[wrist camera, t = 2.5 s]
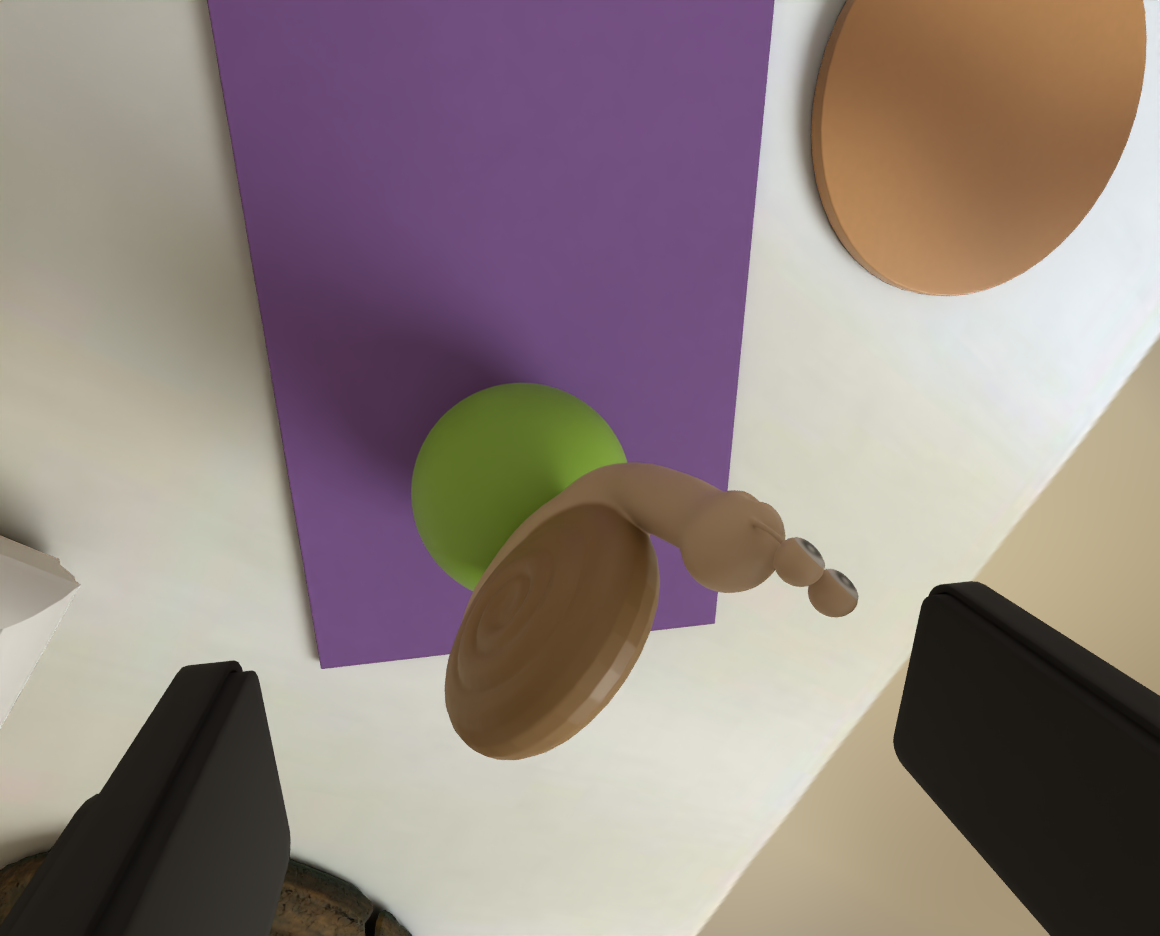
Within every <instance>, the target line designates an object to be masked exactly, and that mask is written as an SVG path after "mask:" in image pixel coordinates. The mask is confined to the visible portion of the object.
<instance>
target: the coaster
mask: <svg viewBox="0 0 1160 936" xmlns="http://www.w3.org/2000/svg"><path fill="white" fill-rule="evenodd" d="M1146 38H1147V37H1146V21H1145V9H1144V4H1143V0H847V1H846V3H845V5H844V6H843V8H842V10H841V12H840V14H839V16H838V18H837V20H836V23H835V25H834V28H833V30H832V33H831V35H830V38H829V41H828V43H827V46H826V49H825V52H824V56H823V59H822V63H821V66H820V70H819V74H818V78H817V84H816V90H815V96H814V101H813V113H812V127H811V137H812V159H813V165H814V172H815V178H816V183H817V187H818V191H819V194H820V198H821V201H822V205H823V207H824V210H825V212H826V214H827V217H828V219H829V221H830V224H831V226H832V228H833V229H834V231H835V233H836V234H837V236H838V238H839V239H840V241H841V243H842V244H843V245H844V247H845V248H846V249H847V250H848V251H849V253H850V254H851V255H852V256H853V258H854V259H855V260H856V261H857V262H858V263H859V264H861V265H862V266H863V267H864V268H865V269H866V270H867V271H869V272H870V273H871V274H873V275H874V276H876V277H878V278H879V279H881V280H882V281H884V282H885V283H888V284H890V285H893V286H895V287H897V288H900V289H902V290H906V291H911V292H915V293H919V294H926V295H939V296H954V295H965V294H971V293H975V292H979V291H983V290H987V289H989V288H992V287H995V286H997V285H1000V284H1002V283H1005V282H1007V281H1009V280H1011V279H1013V278H1015V277H1016V276H1018V275H1020V274H1022V273H1024V272H1025V271H1027V270H1028V269H1030V268H1031V267H1033V266H1034V265H1036V264H1037V263H1038V262H1040V261H1041V260H1043V259H1044V258H1045V257H1046V256H1047V255H1049V254H1050V253H1051V252H1052V251H1053V250H1054V249H1056V248H1057V247H1058V246H1059V245H1060V244H1061V243H1062V242H1063V241H1064V240H1065V239H1066V238H1067V237H1068V236H1069V235H1070V234H1071V233H1072V232H1073V231H1074V230H1075V228H1076V227H1077V226H1078V225H1079V224H1080V222H1081V221H1082V220H1083V219H1084V217H1085V216H1086V215H1087V213H1088V212H1089V211H1090V210H1091V208H1092V207H1093V205H1094V204H1095V202H1096V201H1097V199H1098V198H1099V196H1100V195H1101V193H1102V192H1103V190H1104V188H1105V187H1106V185H1107V183H1108V181H1109V179H1110V177H1111V176H1112V174H1113V172H1114V170H1115V168H1116V166H1117V164H1118V162H1119V160H1120V157H1121V155H1122V153H1123V150H1124V148H1125V146H1126V143H1127V141H1128V138H1129V135H1130V132H1131V129H1132V126H1133V123H1134V120H1135V117H1136V113H1137V108H1138V104H1139V100H1140V96H1141V91H1142V85H1143V78H1144V71H1145V63H1146Z"/></svg>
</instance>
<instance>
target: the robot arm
mask: <svg viewBox="0 0 1160 936" xmlns="http://www.w3.org/2000/svg"><path fill="white" fill-rule="evenodd" d="M893 743H894V749H895V752H896V755H897V757H898V759H899V761H900V762H901V763H902V765H903V766H904V767H905V769H906V770H907V771H908V772H909V773H910V774H911V775H912V777H913V778H914V779H915V780H916V781H917V782H918V784H919V785H920V786H921V787H922V788H923V789H924V790H925V792H926V793H927V794H928V795H929V796H930V797H931V799H932V800H933V801H934V802H935V803H936V804H937V805H938V807H939V808H940V809H941V810H942V811H943V812H944V814H945V815H946V816H947V817H948V818H949V819H950V820H951V822H952V823H953V824H954V825H955V826H956V827H957V829H958V830H959V831H960V832H961V833H962V834H963V835H964V837H965V838H966V839H967V840H968V841H969V842H970V843H971V845H972V846H973V847H974V848H975V849H976V850H977V851H978V853H979V854H980V855H981V856H982V857H983V858H984V860H985V861H986V862H987V863H988V864H989V865H990V867H991V868H992V869H993V870H994V871H995V872H996V873H997V874H998V876H999V877H1000V878H1001V879H1002V880H1003V882H1005V884H1006V885H1007V886H1008V887H1009V888H1010V889H1011V891H1012V892H1013V893H1014V894H1015V895H1016V896H1017V898H1018V899H1019V900H1020V901H1021V902H1022V903H1023V904H1024V906H1025V907H1026V908H1027V909H1028V910H1029V911H1030V913H1031V914H1032V915H1033V916H1034V917H1035V918H1036V919H1037V920H1038V922H1039V923H1040V924H1041V925H1042V926H1043V927H1044V929H1045V930H1046V931H1047V932H1048V933H1049V935H1050V936H1160V696H1159V695H1157V694H1156V693H1154V692H1153V691H1151V690H1150V689H1148V688H1146V687H1145V686H1143V685H1142V684H1140V683H1139V682H1137V681H1135V680H1134V679H1132V678H1131V677H1129V676H1127V675H1126V674H1124V673H1123V672H1121V671H1120V670H1118V669H1116V668H1115V667H1113V666H1112V665H1110V664H1109V663H1107V662H1106V661H1104V660H1102V659H1101V658H1099V657H1098V656H1096V655H1094V654H1093V653H1091V652H1090V651H1088V650H1087V649H1085V648H1083V647H1082V646H1080V645H1079V644H1077V643H1075V642H1074V641H1072V640H1071V639H1069V638H1068V637H1066V636H1065V635H1063V634H1061V633H1060V632H1058V631H1057V630H1055V629H1053V628H1052V627H1050V626H1049V625H1047V624H1045V623H1044V622H1043V621H1041V620H1039V619H1038V618H1036V617H1035V616H1033V615H1031V614H1030V613H1028V612H1027V611H1025V610H1024V609H1022V608H1020V607H1019V606H1017V605H1016V604H1014V603H1012V602H1011V601H1009V600H1008V599H1006V598H1005V597H1003V596H1002V595H1000V594H998V593H997V592H995V591H994V590H992V589H991V588H989V587H987V586H986V585H984V584H981V583H979V582H973V581H970V582H960V583H951V584H942V585H938V586H936V587H934V588H933V589H932V590H931V592H930V594H929V596H928V597H926V598H925V599H924V601H923V603H922V606H921V610H920V615H919V619H918V624H917V629H916V634H915V638H914V643H913V648H912V652H911V657H910V662H909V667H908V671H907V676H906V681H905V685H904V690H903V695H902V700H901V704H900V709H899V714H898V719H897V723H896V728H895V733H894V739H893ZM289 856H290V830H289V825H288V820H287V815H286V810H285V805H284V800H283V795H282V790H281V786H280V781H279V776H278V771H277V766H276V761H275V756H274V751H273V746H272V742H271V737H270V732H269V727H268V722H267V717H266V712H265V707H264V702H263V698H262V693H261V688H260V683H259V679H258V676H257V674H256V672H254V671H245V672H243V670H242V667H241V666H240V664H239V663H238V662H237V661H226V662H216V663H207V664H198V665H188V666H185V667H182V668H181V670H180V671H179V672H178V673H177V674H176V676H175V678H174V679H173V681H172V682H171V684H170V685H169V687H168V688H167V690H166V691H165V693H164V695H163V696H162V698H161V699H160V701H159V702H158V704H157V705H156V707H155V708H154V710H153V712H152V713H151V715H150V716H149V718H148V719H147V721H146V722H145V724H144V725H143V727H142V729H141V730H140V732H139V733H138V735H137V736H136V738H135V739H134V741H133V742H132V744H131V746H130V747H129V749H128V750H127V752H126V753H125V755H124V756H123V758H122V759H121V761H120V763H119V764H118V766H117V767H116V769H115V770H114V772H113V773H112V775H111V776H110V778H109V780H108V781H107V783H106V784H105V786H104V787H103V789H102V790H101V792H100V793H99V794H96V795H94V796H93V797H91V798H90V799H88V800H87V801H85V802H84V804H83V805H82V806H81V807H80V808H79V810H78V811H77V812H76V813H75V814H74V816H73V817H72V819H71V820H70V822H69V823H68V825H67V826H66V828H65V829H64V831H63V832H62V834H61V835H60V837H59V838H58V840H57V841H56V843H55V844H54V846H53V847H52V849H51V850H50V852H49V853H48V855H47V856H46V858H45V859H44V861H43V862H42V864H41V865H40V867H39V868H38V870H37V871H36V873H35V874H34V876H33V877H32V879H31V880H30V882H29V883H28V885H27V886H26V888H25V889H24V891H23V892H22V894H21V895H20V897H19V898H18V900H17V901H16V903H15V904H14V906H13V907H12V909H11V910H10V912H9V913H8V915H7V916H6V918H5V919H4V921H3V922H2V924H1V925H0V936H269V934H270V931H271V927H272V923H273V919H274V916H275V912H276V908H277V904H278V901H279V897H280V893H281V889H282V886H283V882H284V878H285V874H286V871H287V867H288V862H289Z"/></svg>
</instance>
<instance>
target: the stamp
mask: <svg viewBox="0 0 1160 936" xmlns="http://www.w3.org/2000/svg"><path fill="white" fill-rule="evenodd" d="M79 587H80V584H79V583H78V582H76V581H75V578H74V576H73V575H72V574H71V573H69V572H68V571H67V570H66V569H64V568H63V567H62V566H61V565H60V561H59V559H58V558H55V557H53V556H50V555H48V554H45V553H43V552H40V551H38V550H35V549H33V548H30V547H28V546H25V545H23V544H20V543H18V542H15V541H13V540H10V539H8V538H5V537H3V536H0V729H1V727H2V725H3V723H4V722H5V720H6V718H7V716H8V714H9V713H10V711H11V709H12V707H13V705H14V704H15V702H16V700H17V698H18V697H19V695H20V693H21V691H22V689H23V688H24V686H25V684H26V682H27V680H28V679H29V677H30V675H31V673H32V671H33V670H34V668H35V666H36V664H37V662H38V661H39V659H40V657H41V655H42V653H43V652H44V650H45V648H46V646H47V644H48V643H49V641H50V639H51V637H52V635H53V634H54V632H55V630H56V628H57V626H58V625H59V623H60V621H61V619H62V617H63V616H64V614H65V612H66V610H67V608H68V607H69V605H70V603H71V601H72V599H73V598H74V596H75V594H76V592H77V591H78V589H79Z"/></svg>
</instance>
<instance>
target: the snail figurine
mask: <svg viewBox="0 0 1160 936" xmlns="http://www.w3.org/2000/svg"><path fill="white" fill-rule="evenodd" d="M411 500H412V510H413V515H414V520H415V523H416V526H417V529H418V532H419V535H420V537H421V539H422V541H423V543H424V545H425V547H426V549H427V550H428V552H429V553H430V555H431V556H432V558H433V559H434V560H435V562H436V563H437V564H438V565H439V566H440V567H441V568H442V569H443V570H444V571H445V572H446V573H447V574H448V575H449V576H450V577H451V578H453V579H454V580H455V581H457V582H458V583H459V584H461V585H463V586H464V587H466V588H468V589H469V590H471V591H473V593H472V595H471V598H470V600H469V602H468V605H467V608H466V610H465V613H464V616H463V619H462V622H461V625H460V627H459V630H458V632H457V635H456V637H455V640H454V643H453V646H452V649H451V652H450V656H449V660H448V664H447V670H446V679H445V701H446V708H447V711H448V714H449V717H450V720H451V723H452V725H453V728H454V729H455V731H456V732H457V734H458V735H459V736H460V737H461V739H462V740H463V741H464V742H465V743H466V744H467V745H468V746H469V747H470V748H472V749H473V750H475V751H476V752H478V753H480V754H483V755H485V756H487V757H491V758H495V759H500V760H519V759H524V758H527V757H531V756H535V755H538V754H542V753H544V752H547V751H549V750H551V749H553V748H554V747H556V746H558V745H560V744H562V743H564V742H566V741H567V740H569V739H570V738H571V737H572V736H574V735H575V734H576V733H578V732H579V731H580V730H581V729H583V728H584V727H585V726H586V725H588V724H589V723H590V722H591V721H592V720H593V719H594V718H595V717H596V716H597V715H598V713H599V712H600V711H601V710H602V709H603V708H604V707H605V706H606V705H607V704H608V703H609V702H610V700H611V699H612V698H613V696H614V695H615V694H616V692H617V691H618V690H619V688H620V687H621V686H622V684H623V683H624V682H625V680H626V679H627V677H628V675H629V673H630V672H631V670H632V668H633V667H634V665H635V663H636V661H637V660H638V658H639V656H640V654H641V652H642V650H643V647H644V645H645V643H646V640H647V638H648V635H649V633H650V631H651V628H652V625H653V621H654V617H655V613H656V610H657V606H658V599H659V588H660V575H659V566H658V560H657V555H656V552H655V549H654V547H653V545H652V542H651V539H650V534H652V535H655V536H657V537H659V538H661V539H662V540H664V541H666V542H668V543H670V544H672V545H674V546H676V547H677V548H679V549H680V551H681V556H682V559H683V562H684V565H685V567H686V569H687V570H688V572H689V573H690V575H691V576H692V577H693V578H694V579H695V580H696V581H697V582H698V583H700V584H701V585H703V586H704V587H706V588H708V589H711V590H714V591H717V592H723V593H734V592H741V591H746V590H749V589H752V588H754V587H756V586H758V585H759V584H761V583H762V582H764V581H765V580H766V579H767V578H768V577H769V576H770V575H771V574H772V573H773V572H774V571H775V570H776V572H777V574H778V575H779V577H780V578H781V579H782V580H783V581H785V582H786V583H788V584H790V585H793V586H798V587H804V586H809V587H808V595H809V599H810V602H811V603H812V605H813V606H814V608H815V609H816V610H817V611H819V612H820V613H822V614H824V615H826V616H829V617H842V616H845V615H847V614H849V613H850V612H852V611H853V610H854V609H855V607H856V605H857V602H858V593H857V590H856V588H855V587H854V585H853V584H852V582H851V581H850V580H849V579H848V578H847V577H846V576H845V575H844V574H842V573H840V572H839V571H837V570H834V569H826V570H824V568H825V563H824V560H823V558H822V556H821V554H820V553H819V551H818V550H817V549H816V548H815V547H814V546H813V545H812V544H811V543H810V542H808V541H806V540H804V539H802V538H799V537H795V538H789V539H787V540H785V530H784V525H783V522H782V520H781V517H780V516H779V514H778V512H777V511H776V510H775V509H774V508H773V507H772V506H770V505H769V504H766V503H763V502H759V501H758V500H757V499H756V498H755V497H753V496H752V495H750V494H749V493H746V492H743V491H721V490H719V489H717V488H716V487H714V486H712V485H710V484H709V483H707V482H705V481H703V480H701V479H698V478H696V477H693V476H691V475H688V474H685V473H682V472H679V471H676V470H673V469H670V468H667V467H663V466H659V465H654V464H648V463H638V462H629V463H627V459H626V456H625V454H624V451H623V449H622V446H621V444H620V442H619V440H618V439H617V437H616V435H615V434H614V432H613V431H612V429H611V428H610V426H609V425H608V424H607V423H606V421H605V420H604V419H603V418H602V417H601V416H600V415H599V414H598V413H597V412H596V411H595V410H594V409H593V408H591V407H590V406H589V405H587V404H586V403H585V402H583V401H582V400H580V399H579V398H577V397H575V396H573V395H571V394H569V393H567V392H565V391H562V390H560V389H557V388H554V387H550V386H546V385H541V384H535V383H509V384H502V385H497V386H493V387H490V388H487V389H484V390H481V391H479V392H476V393H474V394H472V395H470V396H468V397H467V398H465V399H463V400H462V401H460V402H459V403H457V404H456V405H455V406H453V407H452V408H451V409H450V410H448V411H447V412H446V413H445V414H444V415H443V416H442V417H441V418H440V419H439V421H438V422H437V423H436V424H435V425H434V427H433V428H432V429H431V431H430V432H429V434H428V435H427V437H426V439H425V441H424V443H423V444H422V447H421V449H420V451H419V454H418V456H417V459H416V463H415V466H414V471H413V476H412V485H411Z"/></svg>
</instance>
